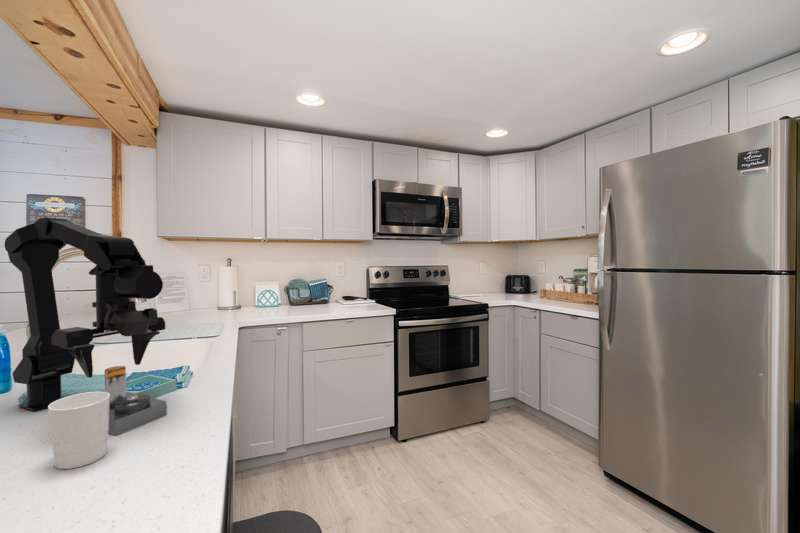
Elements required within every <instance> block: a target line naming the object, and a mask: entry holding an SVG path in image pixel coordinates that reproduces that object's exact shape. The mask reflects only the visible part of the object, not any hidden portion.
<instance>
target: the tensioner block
mask: <svg viewBox="0 0 800 533" xmlns="http://www.w3.org/2000/svg"><path fill="white" fill-rule="evenodd" d="M167 413H168V412H167V400H163V399H159V398H156V397H155V398H151V397H150V396H148V395H137V394H133V393H129V394H126V398H123V399H120V400H118V401H116V402H115V403H114V409H112V410H109V430H108V435H112V436H115V437H116V436H118V435H121V434H123V433H126V432H129V431H132V430H134V429H135V428H138V427H141V426H143V425H145V424H148V423H151V422H153V421H155V420H158V419H160V418H163V417H164V416H167V415H168V414H167Z"/></svg>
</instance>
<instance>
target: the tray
mask: <svg viewBox="0 0 800 533" xmlns="http://www.w3.org/2000/svg"><path fill="white" fill-rule="evenodd" d="M148 380H153V381H157V382H162V383H163V384H160V385H157V386H154V387H151V388H148V389H145V390H141V391H127V390H126V394H129V393H133V394H137V395H148V396H150V397H151V398H155V399H156V398H157V397H160V396H163V395H165V394H168V393H171V392H174V391H176V390H178V386H177V385H178V383H177V382H178V380H177V379H175V378H170V377H163V376H160V375H159V376H158V375H154V374H153V375H152V374H147V375H145V376H142V377H138V378H135V379H132V380H128V381H127V380H126V388H128V387H130V386H132V385H134V384H137V383H141V382H144V381H148Z"/></svg>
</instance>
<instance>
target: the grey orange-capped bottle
mask: <svg viewBox="0 0 800 533" xmlns="http://www.w3.org/2000/svg"><path fill="white" fill-rule="evenodd" d="M126 369H127V367H126V366H125V365H117V366H110V367H108V368H105V369H104V392H107V393H109V394H110V410H112V409H114V403H115V402H116V401H118V400H120V399H123V398H126V382H127V372H126V371H127V370H126Z"/></svg>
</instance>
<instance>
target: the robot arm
mask: <svg viewBox="0 0 800 533" xmlns="http://www.w3.org/2000/svg"><path fill="white" fill-rule="evenodd" d="M67 245H69V246H71V247H74V248H75V249H78V250H81V251H82V252H83V257H85V258H86V259H87V260H89V261H90V262H91V263H93V264H94V265H95V266H94V267H93V268H92V269H90V270H89V271H88V275H90V276H95V301H92V302H91V306H92V308H95V309H96V310H95V312H96V314H95V316H96V317H95V318H96V321H92V327H94V328H86V327H81V326H80V327H79V326H75V327H74V326H73V327H69V328H68V327H67V328H62V329H61V324H60V318H59V313H58V306H57V298H56V290H55V284H54V277H53V268H54V267H55V265H56V264H57V262H58V261H59V259H60V251H61V250H62V249H63V248H64V247H66V246H67ZM4 248H5V251H6V252H7V255H8V260H9V262H10V263H11V264H12V265H13V266H14V267H15V268H16V269H18V271H19V272H21V277H22V284H23V290H24V297H25V302H26V303H25V304H26V312H27V318H28V325H29V332H30V337H29V338H28V340H27V342H26V343H25V345H24V346H23V348H22V352H21V353H22V359H21V360H20V362H19V363H18V365H17V366H16V368H15V369H14V370H13V372H12V379H13V382H14V383H15V384H16V383H17V384H21V385H22V384H23V385H26V402H23V403H20V404H19V406H18V407H20V408H22V409H25V410H29V411H32V412H36V411H39V410H43V409H48V406H49V404H51V403H52V402H54V401H56V400H59V399H61V398H64V397H65V396H62V394H63V393H62V376H63V375H67V374H72V373H73V369H74V366H75V361H76V362H77V363H78V365H79V367H80V369H81V370H82V371H83V373H84V375H85V376H86V377H87V378H89V379H90V378H93V373H94V370H93V369H94V368H93V354H92V353H93V350H94V348H95V345H96V344H92V343H91V342H92V341H93V340H94V339H96V338H101V337H102V338H103V337H108V336H111V335H117V334H120V335H121V336H123V337H131V345H132V355H133V360H134V361H133V362H134V364H135V366H139V365H141V362H142V360H143V357H144V356H145V354H146V353H145V352H146V350H147V347H148V346H149V344H150V342H151V340H152V339H153V338H154V337H155V336H156V335H159V334H160V333H161V331H164V330H166V328H167V327H166V320H165V319H164V318H163V317H161V316H158V310H157V309H155V308H154V307H149V308H144V309H143V310H137V307H136V302H135V300H131V299H144V300H152V299H154V298H156V297H157V296H158V295H159V294H161V292H162V290H163V288H164V287H163V286H164V281H163V280H162V277H161V276H160V274H158V273H157V271H154V265H152V264H148V265H147V264H146V261H145V259H144V258H143V256H142V255H141V253H140V252H139V250H138V248H137V246H136V245H135V242H134V240H133V239H131V238H130V237H123V236H117V235H108V234H101V233H99V232H96V231H94V230H92V229H90V228H89V229H88V228H86V227H83V226H81V225H78V224H77V223H73V222H72V221H70V220H68V219H66V218H58V217H49V216H48V217H46V216H44V217H40V218H38V219H37V220H36V221H35V222H33V223H30V224H28V225H25V226H22V227H18V228H16V229H15V230H14V231H13V232H11V234H9V235H8V236H7V237H6V238H5V240H4Z"/></svg>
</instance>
